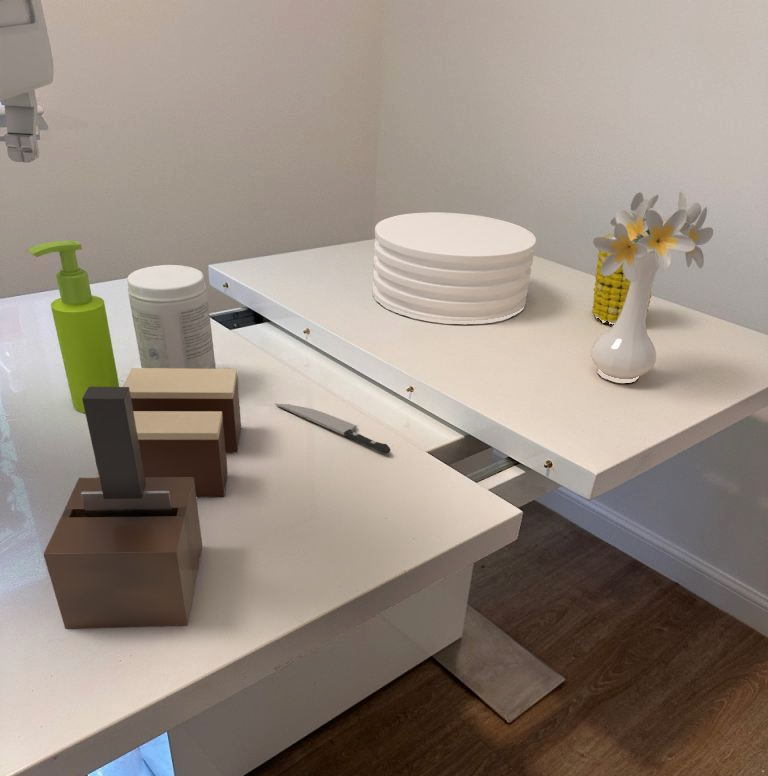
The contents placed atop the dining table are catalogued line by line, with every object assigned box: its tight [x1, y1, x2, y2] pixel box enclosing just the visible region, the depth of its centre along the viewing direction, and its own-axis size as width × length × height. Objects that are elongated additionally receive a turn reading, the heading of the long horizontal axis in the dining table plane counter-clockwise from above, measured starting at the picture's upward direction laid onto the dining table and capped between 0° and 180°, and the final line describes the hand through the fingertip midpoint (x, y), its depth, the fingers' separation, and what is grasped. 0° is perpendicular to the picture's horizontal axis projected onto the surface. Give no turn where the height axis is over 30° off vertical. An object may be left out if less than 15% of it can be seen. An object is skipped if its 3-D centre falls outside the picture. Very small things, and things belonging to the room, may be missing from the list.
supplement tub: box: [126, 264, 217, 369], centre depth 93 cm, size 10×10×15 cm
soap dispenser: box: [26, 239, 120, 414], centre depth 86 cm, size 6×7×20 cm
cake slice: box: [133, 411, 229, 498], centre depth 75 cm, size 12×5×8 cm, turn 95°
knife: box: [81, 386, 173, 517], centre depth 59 cm, size 7×2×19 cm, turn 95°
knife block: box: [43, 477, 203, 629], centre depth 62 cm, size 10×11×8 cm
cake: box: [122, 367, 242, 454], centre depth 83 cm, size 12×6×8 cm, turn 95°
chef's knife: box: [274, 403, 391, 454], centre depth 90 cm, size 19×1×3 cm
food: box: [591, 232, 652, 323], centre depth 122 cm, size 15×12×10 cm
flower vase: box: [589, 190, 714, 379], centre depth 99 cm, size 13×18×25 cm
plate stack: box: [372, 211, 537, 321], centre depth 128 cm, size 28×28×12 cm
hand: (3, 173), depth 50 cm, fingers open, 8 cm apart
